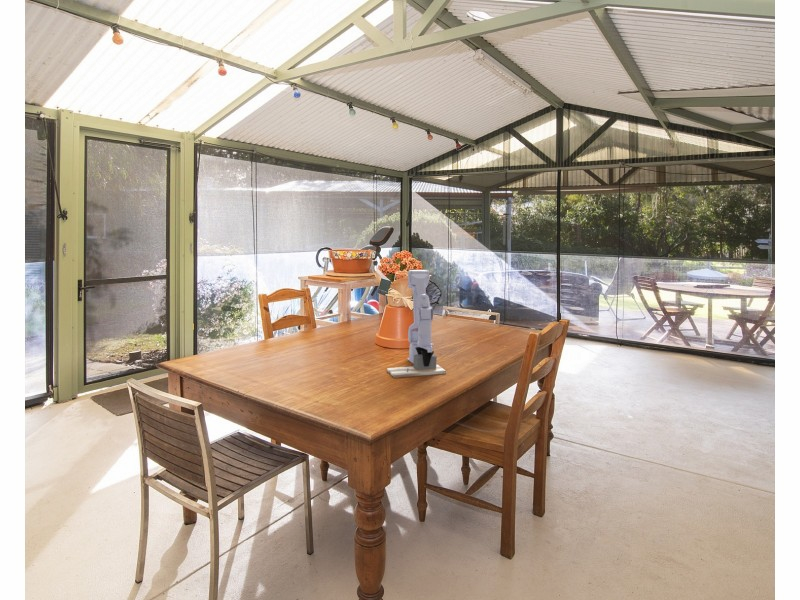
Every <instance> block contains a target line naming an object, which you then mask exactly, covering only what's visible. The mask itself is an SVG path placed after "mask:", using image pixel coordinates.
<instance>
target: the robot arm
mask: <svg viewBox="0 0 800 600" xmlns="http://www.w3.org/2000/svg"><path fill="white" fill-rule="evenodd" d="M430 277H431V276H430V270H429V269H409V270H408V271H407V287H408V288H409V289H411V291H412V303H413V307H412V308H413V323H412V324H411V325H409V327H408V329H407V341H408V342H409V348H408V351H409V353H408V356H409V357H407V360H408V361H409V362H410V363H412V364H413V365H414V355H419V354H422V357H423V364H424V366H429V364H430V360H431V357H432V355H433V354H434V353H435V352H434V350H433V347H434V345H435V344H434V343H432V321H433V319H434V311H433V307H432V305H431V302H430V296H429V295H427V287H428V286H429V282H430Z"/></svg>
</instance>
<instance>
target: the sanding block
mask: <svg viewBox="0 0 800 600" xmlns="http://www.w3.org/2000/svg"><path fill="white" fill-rule="evenodd" d="M436 364H437V355H436V354H434V353H433V355H432V357H431V360H430V364H429V366H424V364H423V357H422V354H419V355H414V364H413V366H414V369H415V370H417V371H423V370H435V369H436Z"/></svg>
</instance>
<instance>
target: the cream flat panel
mask: <svg viewBox="0 0 800 600" xmlns="http://www.w3.org/2000/svg"><path fill="white" fill-rule="evenodd" d="M386 371H387V373H388V374H389V375H390V376H392V378H393V379H397V378H409V377H419V376H420V377H421V376H432V375H442V374H443V375H444V374H447V370H446V369H444V368H443V367H441V366H440V365H439V364H437V363H436V369H435V370H423V371H417V370H415V369H414V365H412V366H411V365H410V366H399V367H397V366H396V367H387V368H386Z"/></svg>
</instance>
